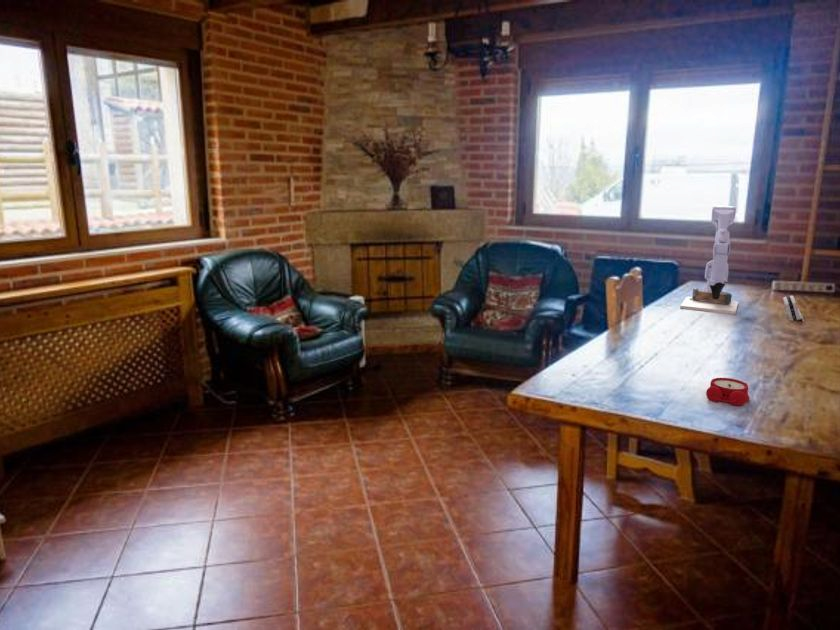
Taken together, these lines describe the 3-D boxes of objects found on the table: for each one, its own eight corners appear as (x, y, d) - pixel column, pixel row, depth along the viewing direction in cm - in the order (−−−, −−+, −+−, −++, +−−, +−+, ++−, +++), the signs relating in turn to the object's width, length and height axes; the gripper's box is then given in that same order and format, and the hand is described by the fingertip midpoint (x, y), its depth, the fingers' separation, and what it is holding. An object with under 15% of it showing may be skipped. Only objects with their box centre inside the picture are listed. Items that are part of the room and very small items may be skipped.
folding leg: (690, 298, 282) (692, 288, 281) (693, 297, 284) (694, 288, 283) (727, 304, 270) (729, 294, 269) (730, 303, 272) (731, 293, 271)
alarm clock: (753, 381, 167) (749, 385, 154) (749, 404, 167) (745, 409, 154) (712, 374, 172) (705, 378, 160) (708, 396, 173) (701, 401, 160)
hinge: (804, 322, 247) (798, 298, 246) (790, 324, 249) (784, 301, 248) (800, 313, 261) (794, 291, 260) (787, 316, 263) (781, 294, 263)
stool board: (686, 298, 289) (687, 288, 288) (738, 304, 279) (739, 293, 277) (680, 308, 270) (681, 296, 269) (735, 314, 259) (736, 302, 258)
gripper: (722, 272, 262) (718, 302, 265) (734, 268, 272) (730, 298, 275) (705, 270, 267) (702, 300, 270) (717, 266, 277) (714, 295, 280)
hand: (715, 299), depth 273 cm, fingers closed
